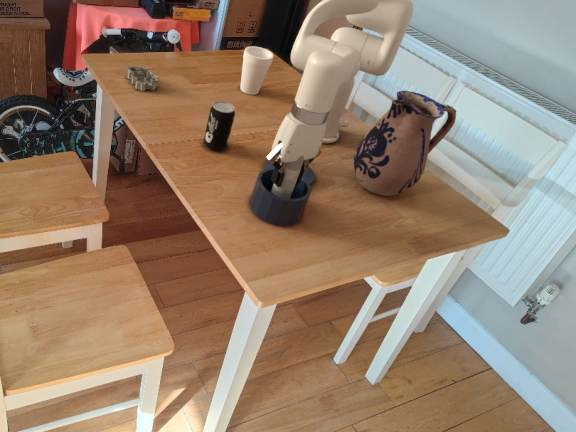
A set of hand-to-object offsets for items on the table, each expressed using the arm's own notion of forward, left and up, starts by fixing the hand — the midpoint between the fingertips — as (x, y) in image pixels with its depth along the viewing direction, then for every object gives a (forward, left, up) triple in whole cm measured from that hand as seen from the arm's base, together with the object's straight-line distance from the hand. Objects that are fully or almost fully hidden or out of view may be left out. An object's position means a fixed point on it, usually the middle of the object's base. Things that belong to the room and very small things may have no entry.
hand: (285, 181), depth 118 cm
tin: (0, 0, -8) cm, 8 cm away
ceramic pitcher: (-36, -1, -8) cm, 37 cm away
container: (0, 0, -7) cm, 7 cm away
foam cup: (-26, -56, -8) cm, 62 cm away
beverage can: (+2, -28, -8) cm, 29 cm away
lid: (-12, -12, -8) cm, 18 cm away
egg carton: (+9, -65, -8) cm, 66 cm away
